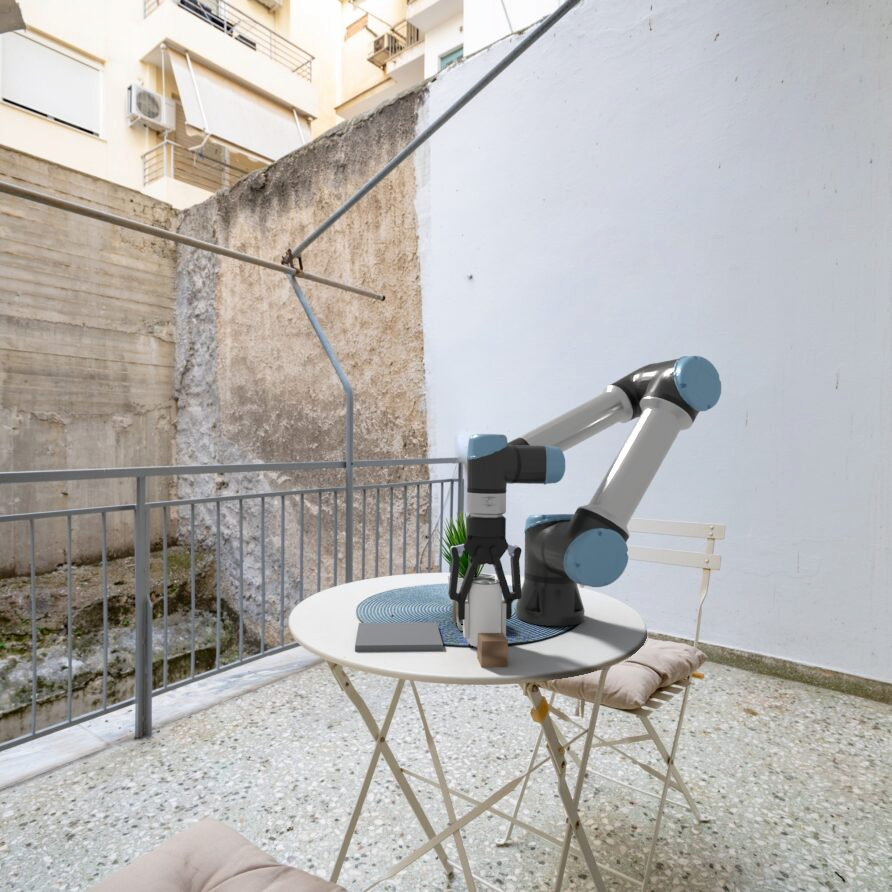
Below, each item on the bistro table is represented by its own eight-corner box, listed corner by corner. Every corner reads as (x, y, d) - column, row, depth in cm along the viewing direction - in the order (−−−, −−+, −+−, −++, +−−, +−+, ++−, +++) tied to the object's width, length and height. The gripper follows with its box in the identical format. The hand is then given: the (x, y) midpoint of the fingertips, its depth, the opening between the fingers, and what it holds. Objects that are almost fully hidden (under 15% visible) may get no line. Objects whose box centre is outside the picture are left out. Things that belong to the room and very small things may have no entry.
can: (491, 636, 115) (492, 576, 115) (507, 647, 109) (508, 583, 109) (461, 640, 113) (462, 578, 113) (476, 651, 107) (477, 585, 107)
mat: (436, 627, 121) (436, 622, 121) (442, 650, 107) (443, 644, 107) (358, 627, 120) (358, 622, 120) (354, 651, 106) (355, 645, 106)
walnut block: (502, 658, 104) (502, 632, 104) (507, 667, 100) (508, 641, 100) (477, 658, 104) (477, 633, 104) (481, 667, 99) (482, 641, 99)
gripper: (437, 516, 107) (435, 643, 106) (540, 517, 109) (538, 641, 108) (434, 512, 114) (431, 630, 114) (531, 513, 116) (529, 629, 116)
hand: (484, 635), depth 111 cm, fingers closed on can, 6 cm apart
